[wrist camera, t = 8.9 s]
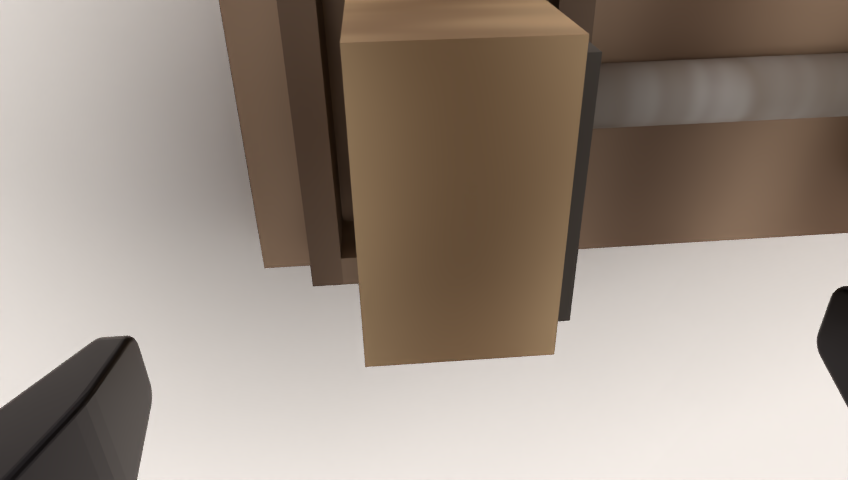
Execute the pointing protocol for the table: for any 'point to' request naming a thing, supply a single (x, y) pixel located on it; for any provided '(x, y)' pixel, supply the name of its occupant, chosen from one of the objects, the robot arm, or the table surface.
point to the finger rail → (619, 157)
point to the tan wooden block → (466, 173)
